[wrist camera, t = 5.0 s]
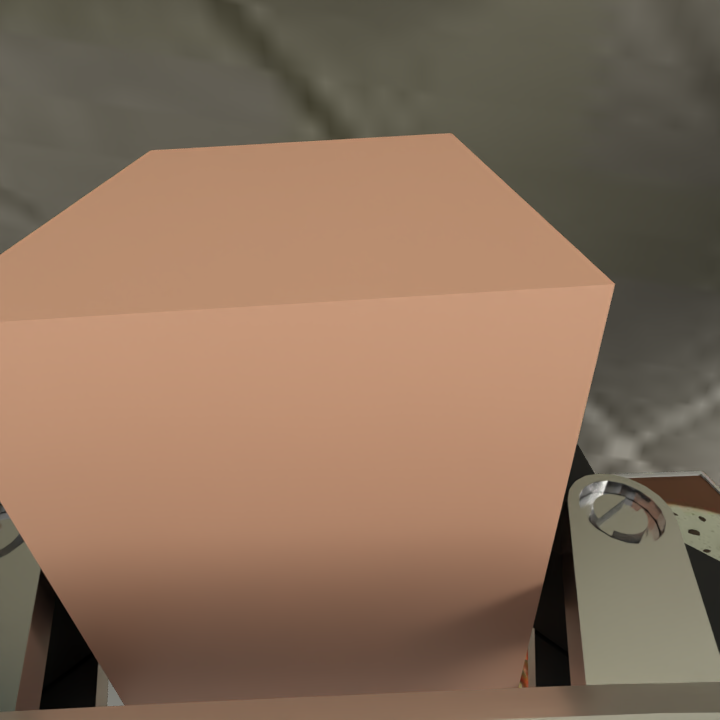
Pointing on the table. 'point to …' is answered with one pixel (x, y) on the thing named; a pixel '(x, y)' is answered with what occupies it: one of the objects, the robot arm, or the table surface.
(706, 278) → the table surface
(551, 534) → the terracotta block
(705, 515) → the food container
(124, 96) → the table surface
